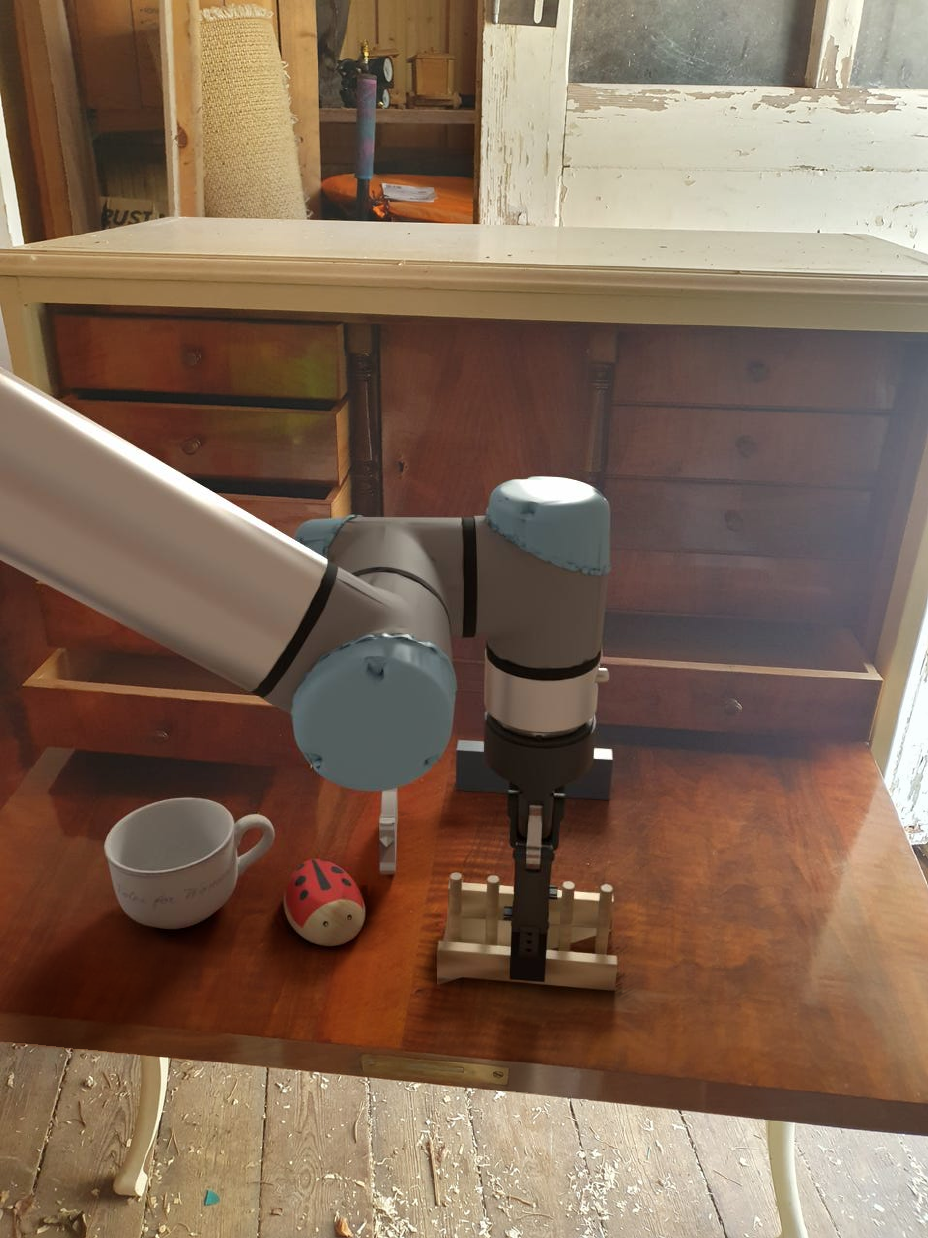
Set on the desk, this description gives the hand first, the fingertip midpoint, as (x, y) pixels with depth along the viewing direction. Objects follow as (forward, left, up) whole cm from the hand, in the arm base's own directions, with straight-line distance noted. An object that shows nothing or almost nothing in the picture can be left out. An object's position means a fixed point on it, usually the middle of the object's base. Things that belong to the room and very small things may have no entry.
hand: (527, 973), depth 74 cm
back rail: (+13, +25, -3) cm, 29 cm away
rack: (+2, +4, -3) cm, 6 cm away
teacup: (-22, +21, -3) cm, 31 cm away
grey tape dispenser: (-4, +22, -3) cm, 22 cm away
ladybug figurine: (-12, +16, -3) cm, 20 cm away
